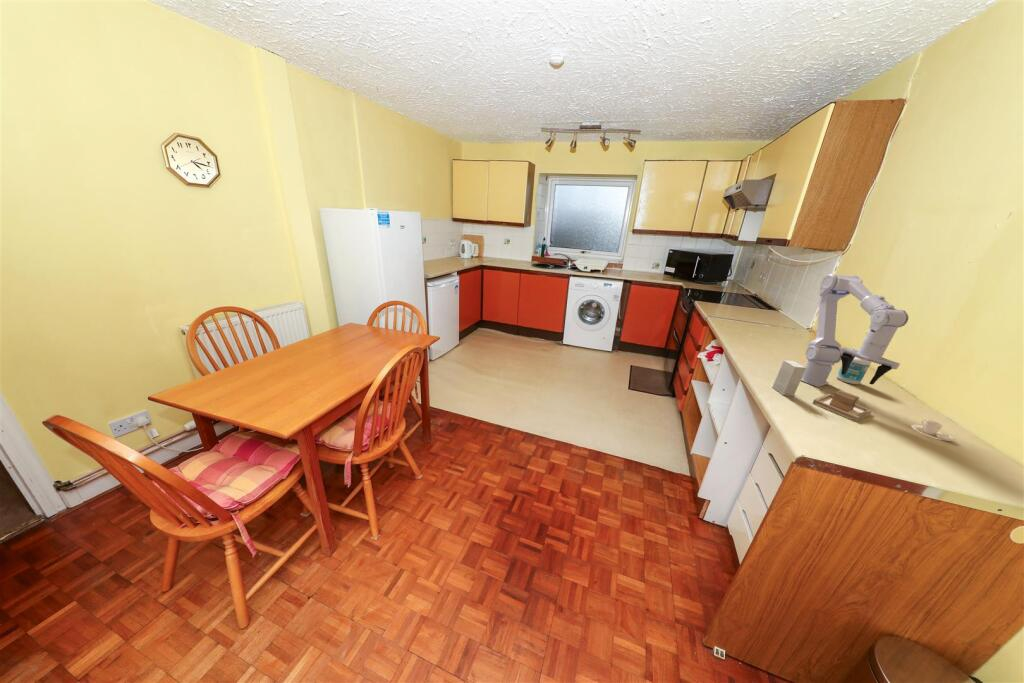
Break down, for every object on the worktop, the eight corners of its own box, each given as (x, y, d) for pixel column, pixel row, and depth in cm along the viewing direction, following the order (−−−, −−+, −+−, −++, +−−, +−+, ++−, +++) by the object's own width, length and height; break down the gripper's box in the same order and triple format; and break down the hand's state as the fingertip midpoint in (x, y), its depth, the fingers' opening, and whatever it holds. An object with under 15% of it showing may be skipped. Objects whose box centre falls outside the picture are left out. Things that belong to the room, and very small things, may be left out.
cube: (834, 402, 119) (841, 390, 117) (852, 409, 115) (859, 397, 113) (829, 404, 117) (835, 392, 115) (847, 412, 113) (853, 399, 111)
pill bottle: (832, 378, 141) (846, 349, 136) (841, 375, 143) (855, 347, 139) (854, 386, 134) (869, 356, 129) (863, 383, 137) (878, 354, 132)
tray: (827, 396, 124) (828, 393, 123) (869, 413, 114) (871, 410, 114) (812, 403, 118) (814, 399, 118) (855, 421, 109) (857, 417, 108)
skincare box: (794, 396, 122) (807, 367, 118) (782, 395, 122) (795, 367, 118) (782, 388, 128) (794, 360, 123) (771, 387, 128) (783, 359, 123)
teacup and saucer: (958, 445, 101) (966, 434, 99) (927, 440, 102) (934, 429, 101) (932, 428, 109) (938, 418, 107) (903, 424, 110) (909, 413, 109)
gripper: (843, 337, 115) (826, 371, 120) (902, 353, 103) (881, 390, 108) (851, 335, 118) (835, 368, 123) (909, 350, 106) (888, 386, 111)
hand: (857, 378), depth 116 cm, fingers open, 7 cm apart
